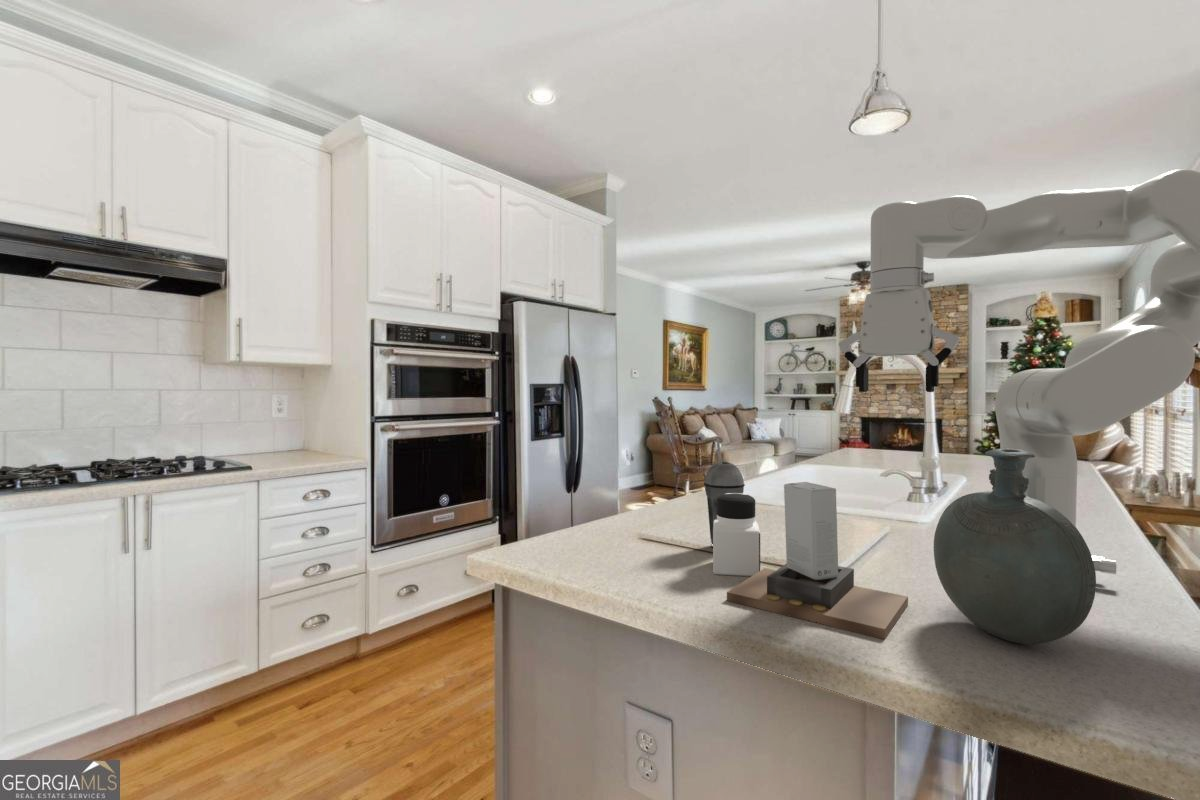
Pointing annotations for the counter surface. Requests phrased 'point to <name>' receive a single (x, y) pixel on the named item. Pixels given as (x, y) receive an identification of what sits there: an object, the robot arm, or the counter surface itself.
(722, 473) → the beverage cup
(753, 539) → the medicine bottle
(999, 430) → the robot arm
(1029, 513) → the flask
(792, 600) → the board
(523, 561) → the counter surface
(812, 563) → the skincare box
